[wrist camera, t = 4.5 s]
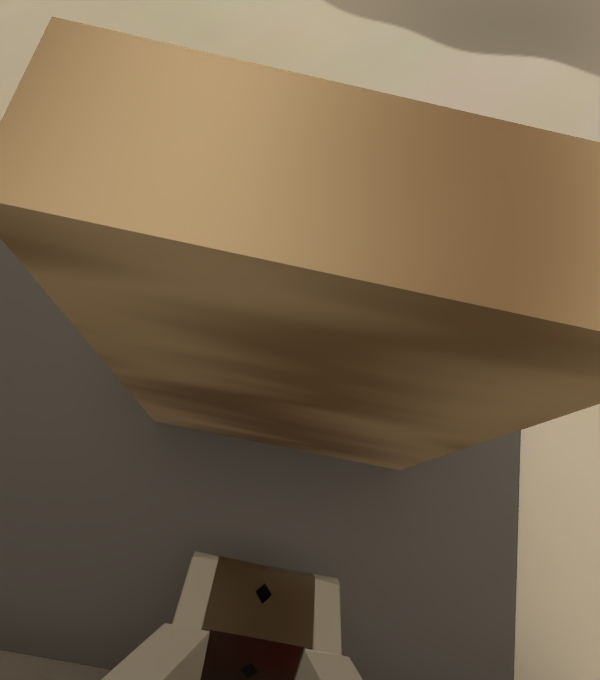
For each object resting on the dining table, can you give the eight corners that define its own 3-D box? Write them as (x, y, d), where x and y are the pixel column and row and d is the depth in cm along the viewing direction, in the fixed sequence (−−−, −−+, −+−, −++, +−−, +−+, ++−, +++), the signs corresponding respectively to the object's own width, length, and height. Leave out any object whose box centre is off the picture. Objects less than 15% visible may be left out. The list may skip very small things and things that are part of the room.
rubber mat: (-204, 608, 14) (-217, 611, 14) (50, 66, 21) (46, 57, 21) (505, 735, 15) (511, 740, 14) (523, 172, 22) (528, 166, 21)
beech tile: (154, 421, 16) (-35, 195, 5) (174, 348, 17) (51, 17, 6) (399, 470, 17) (732, 360, 5) (407, 395, 18) (708, 167, 6)
